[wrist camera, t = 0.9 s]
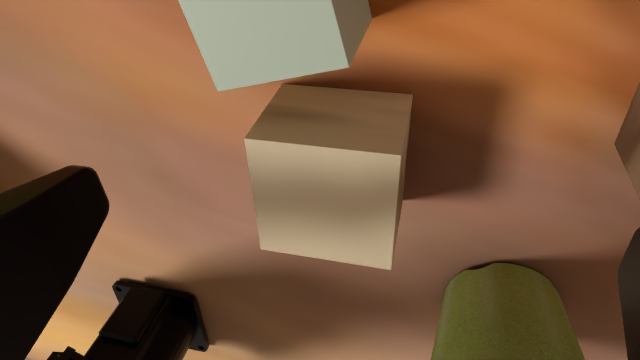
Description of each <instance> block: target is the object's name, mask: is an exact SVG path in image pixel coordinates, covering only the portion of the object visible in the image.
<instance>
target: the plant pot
mask: <svg viewBox="0 0 640 360" xmlns="http://www.w3.org/2000/svg"><path fill="white" fill-rule="evenodd" d="M431 360H585V359H584V356H583V354H582V351H581V349H580V346H579V344H578V341H577V339H576V336H575V334H574V331H573V329H572V326H571V324H570V321H569V318H568V316H567V313H566V310H565V308H564V305H563V303H562V300H561V298H560V295H559V293H558V292H557V290H556V289H555V287H554V286H553V285H552V283H551V282H550V280H548V279H547V278H546V277H545V276H543V275H542V274H540V273H538V272H537V271H534V270H532V269H530V268H527V267H523V266H519V265H515V264H508V263H492V264H490V265H488V266H486V267H483V268H480V269H475V270H464V271H462V272H461V273H459V274H458V275H456V276H455V277H454V278H453V279H452V280H451V281H450V283H449V284H448V285H447V287H446V290H445V294H444V299H443V304H442V309H441V313H440V318H439V323H438V328H437V333H436V338H435V343H434V348H433V352H432V357H431Z"/></svg>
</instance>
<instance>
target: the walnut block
mask: <svg viewBox="0 0 640 360" xmlns="http://www.w3.org/2000/svg"><path fill="white" fill-rule="evenodd" d="M615 146H616V149H617V151H618V153H619V155H620V157H621V159H622V162H623V164H624V166H625V168H626V170H627V173H628V175H629V177H630V179H631V181H632V183H633V186H634V188H635V190H636V192H637V194H638V197H639V199H640V83H639V85H638V88H637V90H636V93H635V95H634V97H633V100H632V102H631V105H630V107H629V110H628V112H627V114H626V117H625V119H624V122H623V124H622V127H621V129H620V132H619V134H618V136H617V139H616V141H615Z"/></svg>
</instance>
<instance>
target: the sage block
mask: <svg viewBox="0 0 640 360" xmlns="http://www.w3.org/2000/svg"><path fill="white" fill-rule="evenodd" d="M178 1H179V3H180V6H181V8H182V10H183V13H184V15H185V17H186V19H187V22H188V24H189V26H190V29H191V31H192V33H193V36H194V38H195V40H196V42H197V45H198V47H199V49H200V52H201V54H202V56H203V59H204V61H205V63H206V65H207V68H208V70H209V72H210V75H211V77H212V79H213V82H214V84H215V86H216V88H217V91H223V90H229V89H234V88H240V87H245V86H250V85H256V84H261V83H267V82H272V81H278V80H283V79H289V78H294V77H300V76H305V75H311V74H316V73H322V72H327V71H333V70H338V69H344V68H349V67H350V64H351V62H352V60H353V58H354V56H355V54H356V52H357V49H358V47H359V45H360V43H361V41H362V39H363V37H364V34H365V32H366V30H367V28H368V26H369V24H370V22H371V20H372V16H371V11H370V7H369V2H368V0H178Z"/></svg>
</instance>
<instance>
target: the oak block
mask: <svg viewBox="0 0 640 360" xmlns="http://www.w3.org/2000/svg"><path fill="white" fill-rule="evenodd" d="M412 100H413V94H402V93H389V92H377V91H364V90H352V89H340V88H327V87H315V86H303V85H290V84H282V85H281V87H280V88H279V89H278V91H277V92H276V94H275V95H274V97H273V98H272V100H271V101H270V102H269V104H268V105H267V107H266V108H265V110H264V111H263V112H262V114H261V115H260V117H259V118H258V120H257V121H256V123H255V124H254V125H253V127H252V128H251V130H250V131H249V133H248V134H247V135H246V137H245V138H244V139H245V146H246V153H247V160H248V166H249V173H250V180H251V187H252V193H253V200H254V207H255V214H256V220H257V227H258V234H259V241H260V247H261V249H262V250H268V251H275V252H281V253H287V254H293V255H300V256H306V257H312V258H318V259H325V260H331V261H337V262H344V263H350V264H356V265H362V266H369V267H375V268H381V269H387V270H391V268H392V262H393V256H394V250H395V244H396V238H397V232H398V226H399V220H400V214H401V208H402V202H403V193H404V182H405V172H406V162H407V151H408V141H409V131H410V120H411V110H412Z"/></svg>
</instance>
